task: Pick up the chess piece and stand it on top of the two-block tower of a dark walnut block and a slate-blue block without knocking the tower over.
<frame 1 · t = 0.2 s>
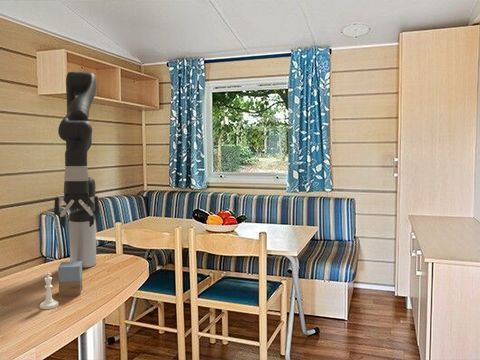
hand: (77, 227, 143), 17 cm above the table, tool pointing down, fingers open, 8 cm apart
chess piece: (49, 306, 119), on the table
walnut block: (71, 292, 129), on the table, touching slate-blue block
slate-blue block: (70, 278, 129), point 4 cm above the table, touching walnut block
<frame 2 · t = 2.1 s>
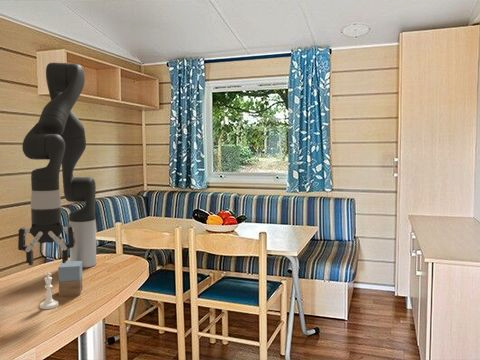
hand: (47, 263, 117), 12 cm above the table, tool pointing down, fingers open, 8 cm apart
nothing on the table moved.
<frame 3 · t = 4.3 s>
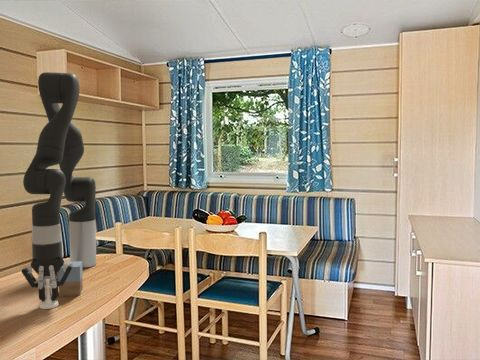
hand: (48, 300, 118), 2 cm above the table, tool pointing down, fingers closed on chess piece
chess piece: (49, 306, 119), on the table, touching gripper
everything else where it was.
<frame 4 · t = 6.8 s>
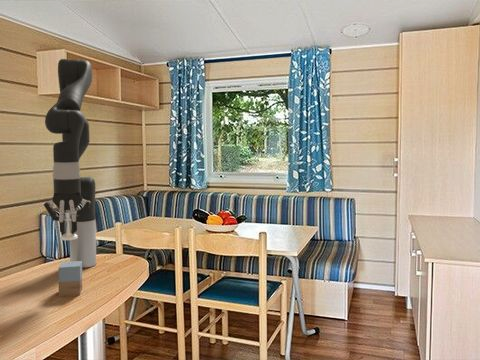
hand: (68, 233, 128), 18 cm above the table, tool pointing down, fingers closed on chess piece
chess piece: (69, 239, 128), point 17 cm above the table, touching gripper
everything else where it was.
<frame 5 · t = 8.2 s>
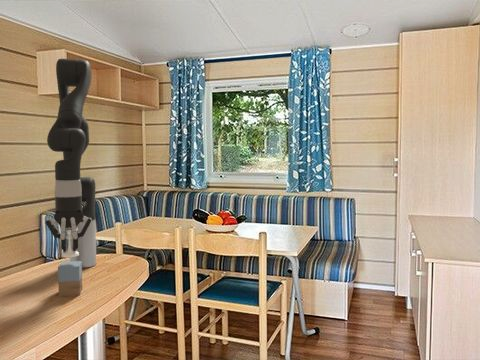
hand: (69, 250, 128), 13 cm above the table, tool pointing down, fingers closed on chess piece
chess piece: (70, 256, 128), point 11 cm above the table, touching gripper
everything else where it was.
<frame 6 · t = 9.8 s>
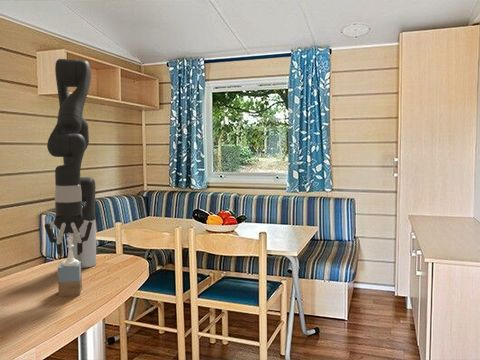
hand: (70, 254, 128), 12 cm above the table, tool pointing down, fingers open, 4 cm apart
chess piece: (70, 264, 129), point 9 cm above the table, touching slate-blue block
slate-blue block: (70, 278, 129), point 4 cm above the table, touching chess piece, walnut block
everything else where it was.
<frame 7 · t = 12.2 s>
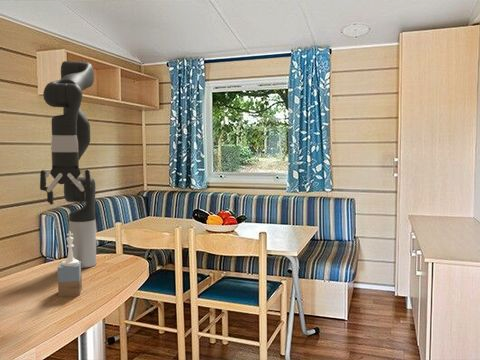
hand: (66, 203, 128), 27 cm above the table, tool pointing down, fingers open, 8 cm apart
nothing on the table moved.
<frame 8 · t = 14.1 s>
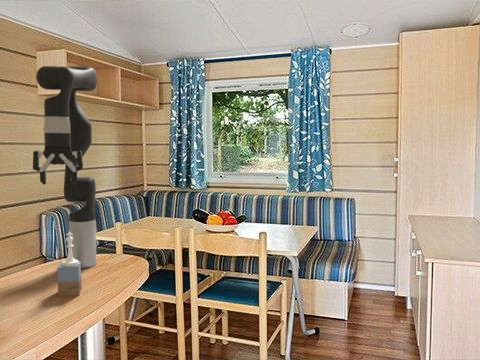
hand: (59, 183, 131), 33 cm above the table, tool pointing down, fingers open, 8 cm apart
nothing on the table moved.
at the end: chess piece 0.3 cm off-centre on the slate-blue block, point 4.3 cm above the slate-blue block's base; slate-blue block 0.1 cm off-centre on the walnut block, point 4.5 cm above the walnut block's base; chess piece tilted 0° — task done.
